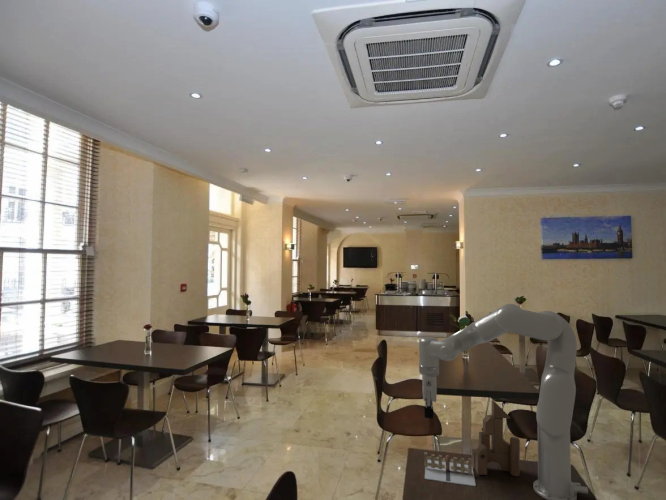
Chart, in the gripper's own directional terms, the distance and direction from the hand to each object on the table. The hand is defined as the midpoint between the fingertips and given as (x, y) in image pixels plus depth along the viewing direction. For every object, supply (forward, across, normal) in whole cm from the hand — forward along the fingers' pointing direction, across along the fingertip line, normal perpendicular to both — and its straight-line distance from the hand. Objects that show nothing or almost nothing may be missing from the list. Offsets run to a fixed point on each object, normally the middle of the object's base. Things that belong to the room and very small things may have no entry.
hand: (429, 417), depth 150 cm
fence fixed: (+17, -7, -11) cm, 21 cm away
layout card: (+17, -7, -7) cm, 19 cm away
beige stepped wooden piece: (+16, -7, -3) cm, 18 cm away
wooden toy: (+16, -2, -24) cm, 29 cm away
